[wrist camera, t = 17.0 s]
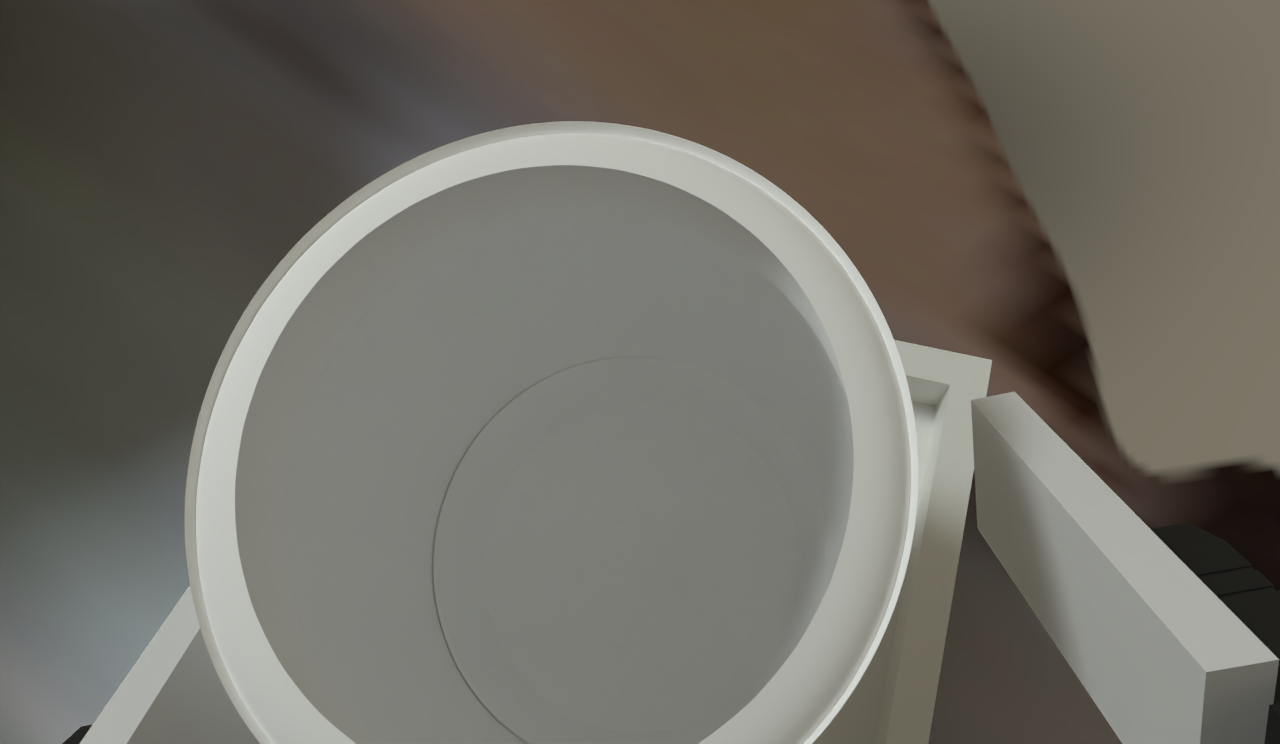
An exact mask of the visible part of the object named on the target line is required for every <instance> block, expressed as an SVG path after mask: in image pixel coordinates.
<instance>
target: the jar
mask: <svg viewBox="0 0 1280 744" xmlns="http://www.w3.org/2000/svg"><path fill="white" fill-rule="evenodd" d="M917 501H918V446H917V434H916V426H915V418H914V412H913V406H912V401H911V396H910V391H909V387H908V383H907V379H906V375H905V372H904V368H903V365H902V362H901V358H900V355H899V353H898V350H897V347H896V344H895V341H894V339H893V336H892V334H891V331H890V329H889V327H888V324H887V322H886V320H885V318H884V316H883V314H882V312H881V310H880V308H879V306H878V304H877V302H876V300H875V298H874V296H873V295H872V293H871V291H870V289H869V288H868V286H867V284H866V283H865V281H864V279H863V278H862V276H861V275H860V273H859V272H858V270H857V269H856V267H855V266H854V264H853V263H852V262H851V260H850V259H849V258H848V256H847V255H846V254H845V252H844V251H843V250H842V249H841V247H840V246H839V245H838V244H837V242H836V241H835V240H834V239H833V238H832V237H831V235H830V234H829V233H828V232H827V231H826V230H825V229H824V228H823V227H822V226H821V225H820V224H819V223H818V222H817V221H816V220H815V219H814V218H813V217H812V216H811V215H810V214H809V213H808V212H807V211H806V210H805V209H804V208H803V207H802V206H800V205H799V204H798V203H797V202H796V201H795V200H793V199H792V198H791V197H790V196H789V195H787V194H786V193H785V192H783V191H782V190H781V189H779V188H778V187H777V186H775V185H774V184H773V183H771V182H770V181H768V180H767V179H765V178H764V177H762V176H761V175H759V174H758V173H756V172H754V171H753V170H751V169H749V168H748V167H746V166H744V165H742V164H741V163H739V162H737V161H735V160H733V159H731V158H729V157H727V156H725V155H723V154H721V153H719V152H717V151H714V150H712V149H710V148H707V147H705V146H702V145H700V144H697V143H694V142H692V141H689V140H686V139H683V138H680V137H677V136H673V135H670V134H666V133H662V132H659V131H654V130H650V129H645V128H640V127H635V126H629V125H622V124H614V123H603V122H585V121H564V122H546V123H535V124H527V125H520V126H514V127H508V128H503V129H498V130H494V131H489V132H485V133H481V134H478V135H474V136H471V137H467V138H464V139H461V140H458V141H455V142H452V143H449V144H446V145H444V146H441V147H439V148H436V149H434V150H431V151H429V152H427V153H424V154H422V155H420V156H418V157H415V158H413V159H411V160H409V161H407V162H405V163H403V164H401V165H399V166H398V167H396V168H394V169H392V170H390V171H389V172H387V173H385V174H383V175H382V176H380V177H378V178H377V179H375V180H374V181H372V182H370V183H369V184H367V185H366V186H364V187H363V188H361V189H360V190H358V191H357V192H356V193H354V194H353V195H351V196H350V197H349V198H347V199H346V200H345V201H343V202H342V203H341V204H340V205H338V206H337V207H336V208H335V209H333V210H332V211H331V212H330V213H328V214H327V215H326V216H325V217H324V218H323V219H322V220H320V221H319V222H318V223H317V224H316V225H315V226H314V227H313V228H312V229H311V230H310V231H309V232H308V233H306V234H305V235H304V236H303V237H302V238H301V239H300V241H299V242H298V243H297V244H296V245H295V246H294V247H293V248H292V249H291V250H290V251H289V252H288V253H287V255H286V256H285V257H284V258H283V259H282V260H281V261H280V263H279V264H278V265H277V266H276V267H275V269H274V270H273V271H272V272H271V274H270V275H269V276H268V278H267V279H266V280H265V282H264V283H263V284H262V286H261V287H260V288H259V290H258V291H257V293H256V294H255V296H254V297H253V299H252V300H251V302H250V303H249V305H248V306H247V308H246V309H245V311H244V313H243V314H242V316H241V318H240V319H239V321H238V323H237V325H236V326H235V328H234V330H233V332H232V334H231V336H230V338H229V340H228V341H227V343H226V345H225V348H224V350H223V352H222V354H221V356H220V358H219V360H218V363H217V365H216V367H215V370H214V372H213V375H212V377H211V380H210V383H209V385H208V388H207V391H206V394H205V397H204V400H203V403H202V406H201V410H200V413H199V417H198V420H197V424H196V428H195V432H194V437H193V442H192V447H191V452H190V458H189V464H188V472H187V480H186V491H185V511H184V530H185V550H186V560H187V569H188V576H189V582H190V588H191V593H192V598H193V603H194V607H195V611H196V615H197V619H198V622H199V626H200V629H201V632H202V636H203V639H204V641H205V644H206V647H207V650H208V652H209V655H210V658H211V660H212V662H213V665H214V667H215V669H216V672H217V674H218V676H219V678H220V680H221V682H222V684H223V686H224V688H225V690H226V692H227V694H228V696H229V698H230V699H231V701H232V703H233V705H234V706H235V708H236V710H237V711H238V713H239V714H240V716H241V718H242V719H243V721H244V722H245V724H246V725H247V726H248V728H249V729H250V731H251V732H252V733H253V735H254V736H255V738H256V739H257V740H258V741H259V743H260V744H814V743H815V742H816V741H817V739H818V738H819V737H820V736H821V735H822V734H823V732H824V731H825V730H826V729H827V727H828V726H829V725H830V724H831V722H832V721H833V720H834V719H835V717H836V716H837V715H838V713H839V712H840V711H841V709H842V708H843V707H844V705H845V704H846V702H847V701H848V699H849V698H850V696H851V695H852V693H853V692H854V690H855V688H856V687H857V685H858V683H859V682H860V680H861V678H862V676H863V675H864V673H865V671H866V669H867V667H868V665H869V663H870V662H871V660H872V658H873V656H874V654H875V652H876V650H877V648H878V646H879V644H880V642H881V640H882V637H883V635H884V633H885V631H886V628H887V626H888V623H889V621H890V619H891V616H892V613H893V611H894V608H895V605H896V602H897V599H898V596H899V593H900V590H901V587H902V584H903V580H904V577H905V573H906V569H907V565H908V561H909V556H910V551H911V546H912V541H913V535H914V529H915V521H916V512H917Z"/></svg>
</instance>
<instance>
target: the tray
mask: <svg viewBox="0 0 1280 744" xmlns="http://www.w3.org/2000/svg"><path fill="white" fill-rule="evenodd" d="M894 341H895V344H896V347H897V350H898V353H899V355H900V358H901V362H902V365H903V368H904V372H905V375H906V379H907V383H908V387H909V391H910V396H911V401H912V406H913V412H914V418H915V426H916V434H917V446H918V501H917V512H916V521H915V529H914V535H913V541H912V546H911V551H910V556H909V561H908V565H907V569H906V573H905V577H904V580H903V584H902V587H901V590H900V593H899V596H898V599H897V602H896V605H895V608H894V611H893V613H892V616H891V619H890V621H889V623H888V626H887V628H886V631H885V633H884V635H883V637H882V640H881V642H880V644H879V646H878V648H877V650H876V652H875V654H874V656H873V658H872V660H871V662H870V663H869V665H868V667H867V669H866V671H865V673H864V675H863V676H862V678H861V680H860V682H859V683H858V685H857V687H856V688H855V690H854V692H853V693H852V695H851V696H850V698H849V699H848V701H847V702H846V704H845V705H844V707H843V708H842V709H841V711H840V712H839V713H838V715H837V716H836V717H835V719H834V720H833V721H832V722H831V724H830V725H829V726H828V727H827V729H826V730H825V731H824V732H823V734H822V735H821V736H820V737H819V738H818V739H817V741H816V742H815V743H814V744H928V743H929V737H930V731H931V725H932V719H933V713H934V707H935V701H936V695H937V689H938V683H939V677H940V671H941V665H942V659H943V653H944V647H945V640H946V634H947V628H948V622H949V616H950V610H951V604H952V598H953V592H954V586H955V580H956V574H957V568H958V562H959V556H960V550H961V544H962V538H963V532H964V526H965V520H966V514H967V508H968V502H969V496H970V490H971V484H972V478H973V472H974V451H973V431H972V412H971V400H974V399H979V398H985V397H986V394H987V388H988V382H989V376H990V370H991V364H992V360H989V359H984V358H979V357H974V356H970V355H965V354H960V353H955V352H950V351H945V350H941V349H936V348H931V347H926V346H921V345H917V344H912V343H907V342H902V341H897V340H894Z"/></svg>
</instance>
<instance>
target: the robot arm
mask: <svg viewBox="0 0 1280 744" xmlns="http://www.w3.org/2000/svg"><path fill="white" fill-rule="evenodd" d="M971 412H972V431H973V451H974V471H975V490H976V510H977V529H978V530H979V532H980V533H981V535H982V536H983V538H984V539H985V541H986V542H987V543H988V545H989V546H990V548H991V549H992V551H993V552H994V554H995V555H996V557H997V558H998V560H999V561H1000V563H1001V564H1002V566H1003V567H1004V569H1005V570H1006V572H1007V573H1008V575H1009V576H1010V578H1011V579H1012V581H1013V582H1014V584H1015V585H1016V587H1017V588H1018V590H1019V591H1020V592H1021V594H1022V595H1023V597H1024V598H1025V600H1026V601H1027V603H1028V604H1029V606H1030V607H1031V609H1032V610H1033V612H1034V613H1035V615H1036V616H1037V618H1038V619H1039V621H1040V622H1041V624H1042V625H1043V627H1044V628H1045V630H1046V631H1047V633H1048V634H1049V636H1050V637H1051V639H1052V640H1053V642H1054V643H1055V644H1056V646H1057V647H1058V649H1059V650H1060V652H1061V653H1062V655H1063V656H1064V658H1065V659H1066V661H1067V662H1068V664H1069V665H1070V667H1071V668H1072V670H1073V671H1074V673H1075V674H1076V676H1077V677H1078V679H1079V680H1080V682H1081V683H1082V685H1083V686H1084V688H1085V689H1086V691H1087V692H1088V693H1089V695H1090V696H1091V698H1092V699H1093V701H1094V702H1095V704H1096V705H1097V707H1098V708H1099V710H1100V711H1101V713H1102V714H1103V716H1104V717H1105V719H1106V720H1107V722H1108V723H1109V725H1110V726H1111V728H1112V729H1113V731H1114V732H1115V734H1116V735H1117V737H1118V738H1119V740H1120V741H1121V743H1122V744H1280V590H1278V591H1276V590H1275V588H1274V585H1273V584H1272V583H1271V582H1270V581H1269V580H1268V579H1267V578H1266V577H1264V576H1263V575H1262V574H1261V573H1260V572H1259V571H1258V570H1253V568H1252V565H1251V564H1250V563H1249V562H1248V561H1247V560H1246V559H1245V558H1244V557H1242V556H1241V555H1240V554H1239V553H1238V552H1237V551H1236V550H1235V549H1234V548H1232V547H1231V546H1230V545H1229V544H1228V543H1227V542H1226V541H1224V540H1222V539H1220V538H1218V537H1216V536H1214V535H1212V534H1210V533H1208V532H1206V531H1204V530H1202V529H1200V528H1198V527H1196V526H1194V525H1192V524H1190V523H1182V524H1176V525H1171V526H1165V527H1160V528H1154V529H1150V528H1149V527H1148V526H1147V525H1146V524H1145V523H1144V522H1143V521H1142V520H1141V519H1140V518H1139V517H1138V516H1137V515H1136V514H1135V513H1134V512H1133V511H1132V510H1131V509H1130V508H1129V507H1128V506H1127V505H1126V504H1125V503H1124V502H1123V501H1122V500H1121V499H1120V498H1119V497H1118V496H1117V495H1116V494H1115V493H1114V492H1113V491H1112V490H1111V489H1110V488H1109V487H1108V486H1107V485H1106V484H1105V483H1104V482H1103V481H1102V480H1101V479H1100V478H1099V477H1098V476H1097V475H1096V474H1095V473H1094V472H1093V471H1092V470H1091V469H1090V468H1089V467H1088V466H1087V465H1086V464H1085V463H1084V462H1083V460H1082V459H1081V458H1080V457H1079V456H1078V455H1077V454H1076V453H1075V452H1074V451H1073V450H1072V449H1071V448H1070V447H1069V446H1068V445H1067V444H1066V443H1065V442H1064V441H1063V440H1062V439H1061V438H1060V437H1059V436H1058V435H1057V434H1056V433H1055V432H1054V431H1053V430H1052V429H1051V428H1050V427H1049V426H1048V425H1047V424H1046V423H1045V422H1044V421H1043V420H1042V419H1041V418H1040V417H1039V416H1038V415H1037V414H1036V413H1035V412H1034V411H1033V410H1032V409H1031V408H1030V407H1029V406H1028V405H1027V404H1026V403H1025V402H1024V401H1023V400H1022V399H1021V398H1020V397H1019V396H1018V395H1017V394H1016V393H1015V392H1011V393H1005V394H1000V395H995V396H990V397H985V398H979V399H974V400H971ZM63 744H260V743H259V741H258V740H257V739H256V738H255V736H254V735H253V733H252V732H251V731H250V729H249V728H248V726H247V725H246V724H245V722H244V721H243V719H242V718H241V716H240V714H239V713H238V711H237V710H236V708H235V706H234V705H233V703H232V701H231V699H230V698H229V696H228V694H227V692H226V690H225V688H224V686H223V684H222V682H221V680H220V678H219V676H218V674H217V672H216V669H215V667H214V665H213V662H212V660H211V658H210V655H209V652H208V650H207V647H206V644H205V641H204V639H203V636H202V632H201V629H200V626H199V622H198V619H197V615H196V611H195V607H194V603H193V598H192V593H191V588H190V585H189V587H188V588H187V590H186V591H185V593H184V594H183V595H182V597H181V598H180V600H179V601H178V603H177V604H176V605H175V607H174V608H173V610H172V611H171V613H170V614H169V616H168V617H167V618H166V620H165V621H164V623H163V624H162V626H161V627H160V629H159V630H158V631H157V633H156V634H155V636H154V637H153V639H152V640H151V641H150V643H149V644H148V646H147V647H146V649H145V650H144V652H143V653H142V654H141V656H140V657H139V659H138V660H137V662H136V663H135V664H134V666H133V667H132V669H131V670H130V672H129V673H128V675H127V676H126V677H125V679H124V680H123V682H122V683H121V685H120V686H119V687H118V689H117V690H116V692H115V693H114V695H113V696H112V698H111V699H110V700H109V702H108V703H107V705H106V706H105V708H104V709H103V711H102V712H101V713H100V715H99V716H98V718H97V719H96V721H95V722H94V723H93V725H88V726H83V727H80V728H79V729H78V730H77V731H76V732H75V733H74V734H73V735H72V736H71V737H69V738H68V739H67V740H66V741H65V742H64V743H63Z"/></svg>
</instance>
